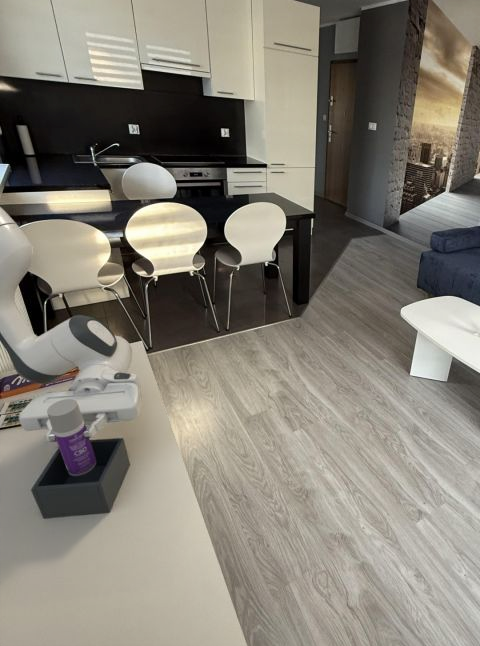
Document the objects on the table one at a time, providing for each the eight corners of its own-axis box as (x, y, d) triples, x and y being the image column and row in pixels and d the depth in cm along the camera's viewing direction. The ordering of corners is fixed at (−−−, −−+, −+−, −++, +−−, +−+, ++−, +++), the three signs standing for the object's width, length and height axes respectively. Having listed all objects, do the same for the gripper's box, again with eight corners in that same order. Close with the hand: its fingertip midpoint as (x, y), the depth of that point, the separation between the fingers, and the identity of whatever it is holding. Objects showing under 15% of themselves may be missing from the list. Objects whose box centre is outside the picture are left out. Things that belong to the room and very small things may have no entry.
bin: (43, 518, 74) (30, 489, 71) (72, 468, 84) (62, 441, 80) (109, 512, 76) (100, 484, 73) (130, 464, 86) (123, 437, 83)
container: (84, 478, 75) (63, 418, 68) (61, 473, 75) (39, 413, 69) (102, 458, 79) (84, 400, 72) (80, 454, 80) (61, 396, 73)
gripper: (33, 381, 80) (-4, 431, 69) (144, 373, 86) (127, 418, 74) (42, 405, 83) (8, 457, 71) (149, 396, 88) (133, 443, 77)
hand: (69, 437), depth 73 cm, fingers closed on container, 4 cm apart
